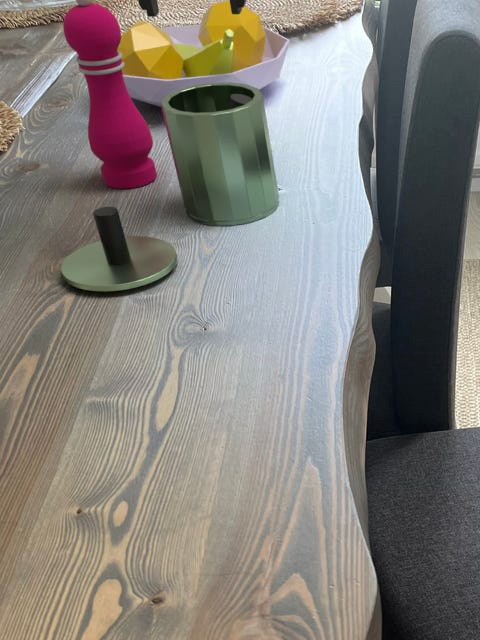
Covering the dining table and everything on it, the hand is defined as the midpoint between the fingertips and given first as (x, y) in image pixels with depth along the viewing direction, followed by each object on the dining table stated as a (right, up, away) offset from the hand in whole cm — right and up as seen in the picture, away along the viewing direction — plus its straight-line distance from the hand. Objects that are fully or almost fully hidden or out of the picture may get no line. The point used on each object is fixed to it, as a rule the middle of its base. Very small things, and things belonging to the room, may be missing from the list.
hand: (195, 13), depth 102 cm
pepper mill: (-14, -8, +20) cm, 26 cm away
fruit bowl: (-11, +14, +42) cm, 45 cm away
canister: (0, -14, +14) cm, 19 cm away
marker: (+1, -13, +13) cm, 19 cm away
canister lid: (-8, -25, +2) cm, 26 cm away
